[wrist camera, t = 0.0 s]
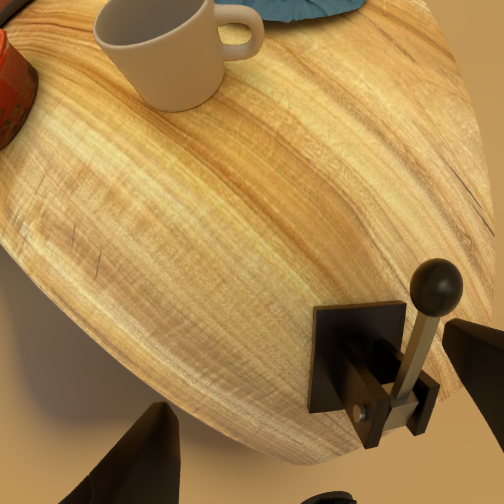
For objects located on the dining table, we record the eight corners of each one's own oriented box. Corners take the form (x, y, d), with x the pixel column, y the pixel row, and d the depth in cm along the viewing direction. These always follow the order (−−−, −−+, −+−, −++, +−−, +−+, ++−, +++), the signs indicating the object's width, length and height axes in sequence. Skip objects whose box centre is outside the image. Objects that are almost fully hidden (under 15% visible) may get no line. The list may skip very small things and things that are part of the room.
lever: (405, 250, 14) (436, 273, 11) (447, 249, 14) (479, 270, 11) (363, 406, 18) (375, 437, 15) (398, 399, 18) (413, 427, 15)
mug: (136, 118, 23) (78, 64, 12) (145, 51, 22) (107, -13, 11) (263, 108, 23) (270, 34, 12) (260, 39, 22) (264, -38, 12)
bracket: (313, 306, 24) (354, 357, 14) (401, 300, 24) (471, 335, 14) (306, 407, 25) (329, 482, 14) (386, 395, 25) (431, 454, 15)
